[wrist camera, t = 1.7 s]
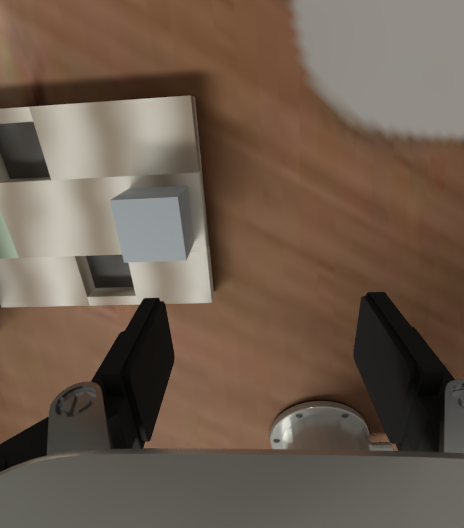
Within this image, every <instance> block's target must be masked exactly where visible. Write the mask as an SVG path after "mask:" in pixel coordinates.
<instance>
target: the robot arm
mask: <svg viewBox="0 0 464 528" xmlns="http://www.w3.org/2000/svg"><path fill="white" fill-rule="evenodd" d="M354 360H355V363H356V365H357V367H358V370H359V372H360V374H361V377H362V379H363V381H364V384H365V386H366V388H367V391H368V393H369V395H370V397H371V400H372V402H373V404H374V407H375V409H376V411H377V414H378V416H379V418H380V421H381V423H382V425H383V428H384V430H385V432H386V435H387V437H388V439H389V441H390V442H391V443H392V444H396V446H397V448H398V450H399V451H393V447H392V444H391V443H390V442H371V441H370V437H369V430H368V427H367V424H366V422H365V420H364V419H363V417H362V416H361V415H360V414H359V413H358V412H356V411H355V410H354V409H352V408H350V407H348V406H346V405H343V404H340V403H336V402H330V401H312V402H305V403H302V404H298V405H296V406H293V407H291V408H289V409H287V410H286V411H284V412H283V413H281V414H280V415H279V416H278V417H277V418H276V420H275V421H274V423H273V424H272V427H271V430H270V440H271V446H272V449H155V448H147V449H143V447H144V444H145V441H150V439H151V436H152V433H153V430H154V426H155V423H156V420H157V417H158V413H159V410H160V407H161V403H162V400H163V397H164V393H165V390H166V387H167V384H168V380H169V377H170V374H171V370H172V367H173V364H174V350H173V344H172V339H171V334H170V328H169V323H168V317H167V312H166V306H165V302H164V301H160V299H159V298H144V299H143V300H142V302H141V304H140V305H139V307H138V309H137V311H136V312H135V314H134V316H133V318H132V319H131V321H130V323H129V325H128V326H127V328H126V330H125V331H123V332H121V333H120V334H119V335H118V337H117V339H116V340H115V342H114V344H113V345H112V347H111V349H110V350H109V352H108V354H107V356H106V357H105V359H104V361H103V362H102V364H101V366H100V367H99V369H98V371H97V372H96V374H95V376H94V378H93V379H92V381H91V382H81V383H77V384H74V385H72V386H70V387H68V388H66V389H65V390H63V391H62V392H60V393H59V394H58V395H57V396H56V397H55V398H54V400H53V402H52V403H51V405H50V409H49V417H47V418H45V419H44V420H42V421H40V422H38V423H37V424H35V425H33V426H31V427H30V428H28V429H26V430H24V431H23V432H21V433H19V434H17V435H16V436H14V437H12V438H10V439H9V440H7V441H5V442H3V443H2V444H0V528H464V380H460V379H457V380H455V379H454V378H453V376H452V375H451V374H450V373H449V371H448V370H447V369H446V367H445V366H444V365H443V364H442V362H441V361H440V360H439V358H438V357H437V356H436V355H435V353H434V352H433V351H432V349H431V348H430V347H429V346H428V344H427V343H426V342H425V340H424V339H423V338H422V337H421V335H420V334H419V333H418V331H417V330H416V329H415V328H414V327H411V326H410V324H409V323H408V322H407V321H406V319H405V318H404V317H403V315H402V314H401V313H400V311H399V310H398V309H397V307H396V306H395V305H394V304H393V302H392V301H391V300H390V298H389V297H388V296H387V294H386V293H385V292H368V293H367V294H366V296H363V297H362V298H361V303H360V310H359V317H358V324H357V331H356V338H355V345H354Z"/></svg>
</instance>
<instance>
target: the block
mask: <svg viewBox="0 0 464 528" xmlns="http://www.w3.org/2000/svg"><path fill="white" fill-rule="evenodd" d="M110 204H111V208H112V213H113V217H114V221H115V225H116V230H117V234H118V238H119V243H120V247H121V251H122V256H123V260H124V263H130V262H161V261H186V260H187V258H188V256H189V253H190V251H191V249H192V247H193V244H194V242H195V241H194V233H193V225H192V216H191V208H190V199H189V191H188V186H168V187H148V188H129V189H127V190H126V191H124V192H122V193H121V194H119V195H117V196H116V197H114V198H112V199H111V200H110Z"/></svg>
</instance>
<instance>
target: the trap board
mask: <svg viewBox="0 0 464 528" xmlns="http://www.w3.org/2000/svg"><path fill="white" fill-rule="evenodd" d="M168 186H188V191H189V199H190V208H191V216H192V225H193V233H194V241H195V242H194V244H193V247H192V249H191V251H190V253H189V256H188V258H187V260H186V261H161V262H130V263H124V260H123V256H122V251H121V247H120V243H119V238H118V234H117V230H116V225H115V221H114V217H113V213H112V208H111V204H110V200H111V199H112V198H114V197H116V196H117V195H119V194H121V193H122V192H124V191H126V190H127V189H129V188H148V187H168ZM213 294H214V288H213V277H212V267H211V257H210V247H209V236H208V226H207V216H206V205H205V195H204V185H203V175H202V164H201V154H200V144H199V134H198V123H197V113H196V103H195V97H194V96H191V95H189V96H175V97H161V98H147V99H132V100H118V101H104V102H90V103H76V104H61V105H47V106H33V107H19V108H5V109H0V308H1V307H43V306H87V305H132V304H141V302H142V300H143V299H144V298H159V299H160V301H164V302H165V304H176V303H212V300H213Z"/></svg>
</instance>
